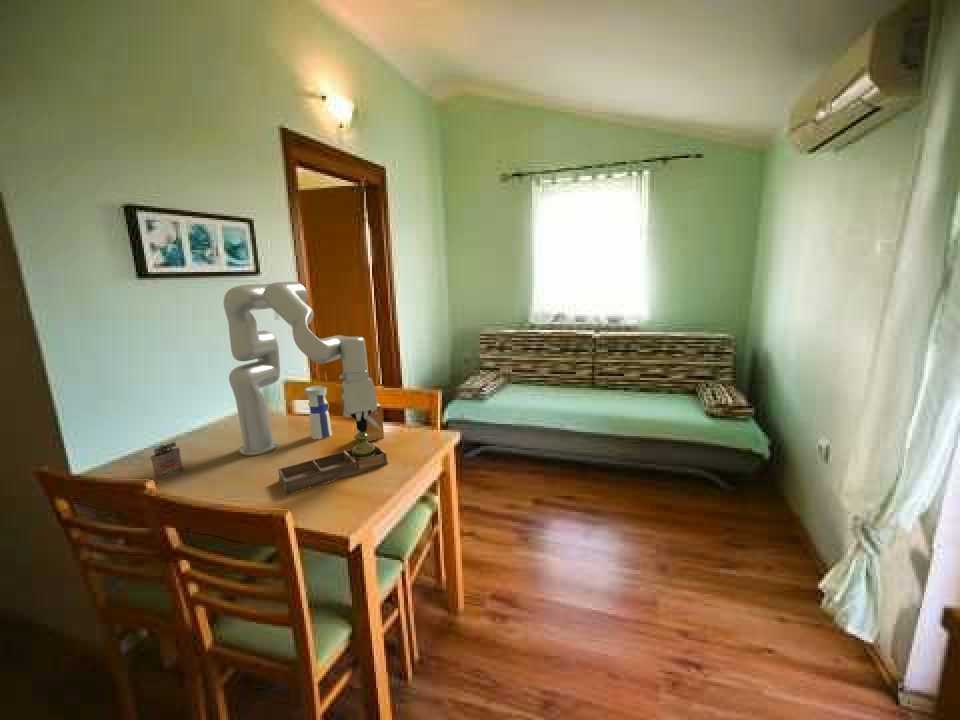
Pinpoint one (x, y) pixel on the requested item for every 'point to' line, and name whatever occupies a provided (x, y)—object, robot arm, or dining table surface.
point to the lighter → (166, 461)
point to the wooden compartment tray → (327, 469)
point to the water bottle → (318, 412)
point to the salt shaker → (363, 447)
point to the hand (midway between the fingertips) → (362, 430)
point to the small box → (375, 424)
